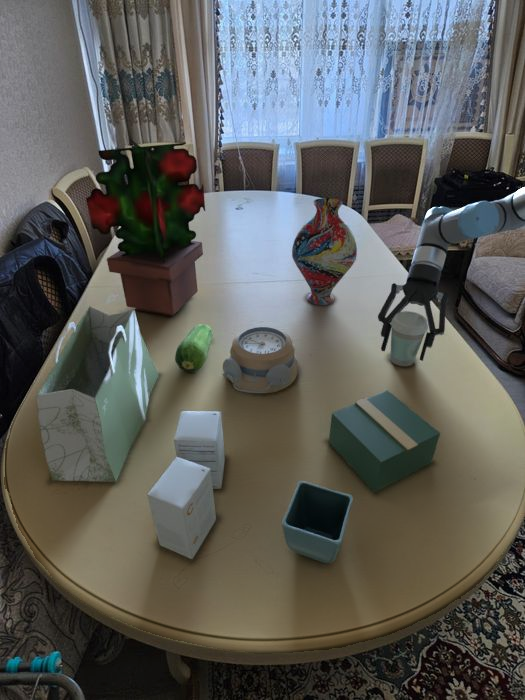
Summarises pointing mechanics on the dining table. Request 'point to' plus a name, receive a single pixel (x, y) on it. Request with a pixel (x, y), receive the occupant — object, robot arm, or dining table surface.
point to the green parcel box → (382, 439)
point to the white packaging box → (202, 442)
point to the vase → (324, 250)
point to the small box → (183, 506)
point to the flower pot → (316, 521)
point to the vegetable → (194, 348)
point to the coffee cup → (406, 337)
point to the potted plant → (151, 224)
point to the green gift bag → (95, 397)
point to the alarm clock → (261, 361)
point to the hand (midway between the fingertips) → (401, 354)
